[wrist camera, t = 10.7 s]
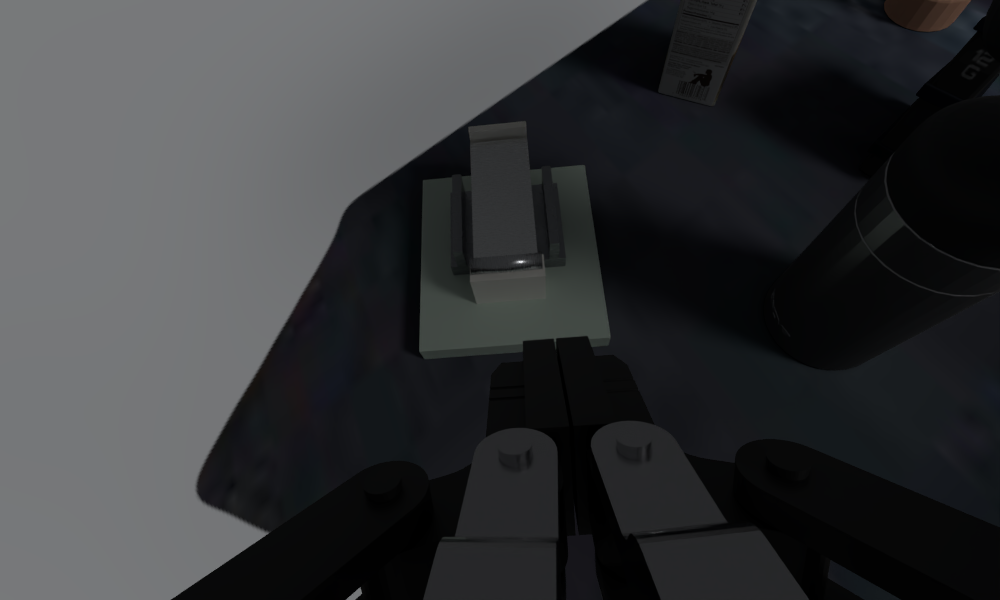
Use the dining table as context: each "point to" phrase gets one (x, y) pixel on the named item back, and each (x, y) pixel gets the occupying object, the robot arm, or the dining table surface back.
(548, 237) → the heat sink
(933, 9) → the pepper shaker
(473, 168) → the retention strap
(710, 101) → the coffee box
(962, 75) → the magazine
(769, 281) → the dining table surface
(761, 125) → the dining table surface
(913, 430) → the dining table surface
